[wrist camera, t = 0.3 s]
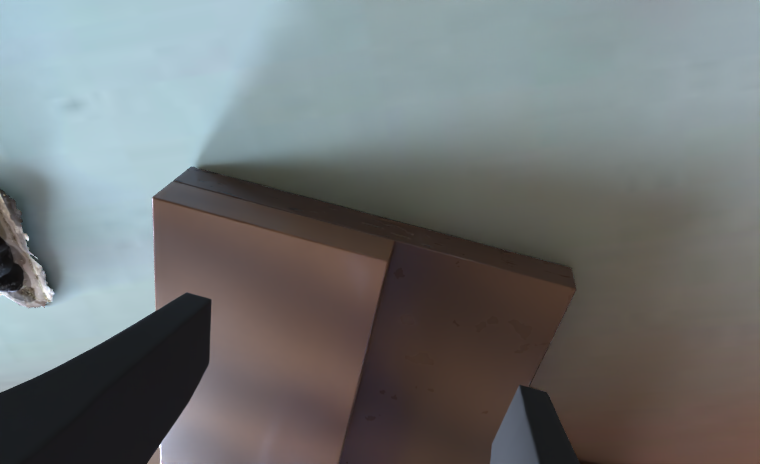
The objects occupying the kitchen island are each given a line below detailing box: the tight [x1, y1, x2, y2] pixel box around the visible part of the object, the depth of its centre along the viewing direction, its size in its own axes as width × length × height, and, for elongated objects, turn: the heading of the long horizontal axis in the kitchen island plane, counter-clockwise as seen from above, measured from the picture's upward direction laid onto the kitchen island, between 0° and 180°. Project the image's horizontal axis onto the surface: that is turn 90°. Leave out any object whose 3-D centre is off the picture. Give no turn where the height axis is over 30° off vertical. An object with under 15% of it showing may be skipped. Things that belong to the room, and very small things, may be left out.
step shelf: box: [152, 167, 576, 464], centre depth 25 cm, size 18×16×3 cm
